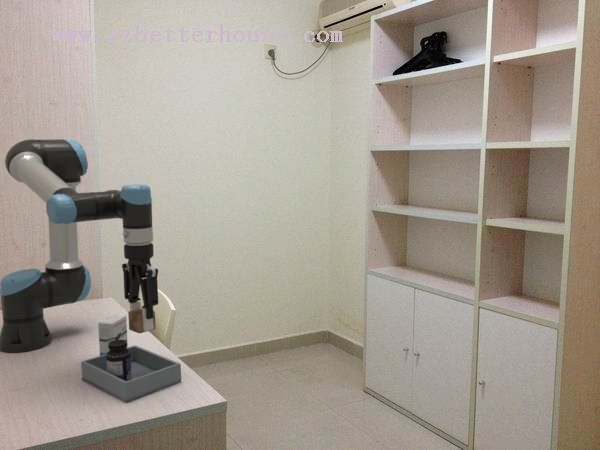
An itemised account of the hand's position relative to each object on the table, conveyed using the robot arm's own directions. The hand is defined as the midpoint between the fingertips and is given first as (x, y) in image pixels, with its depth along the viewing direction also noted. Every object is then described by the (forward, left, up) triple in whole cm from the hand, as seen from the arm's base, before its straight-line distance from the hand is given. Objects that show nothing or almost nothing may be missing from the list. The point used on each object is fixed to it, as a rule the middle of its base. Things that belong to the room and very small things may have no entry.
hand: (142, 327), depth 153 cm
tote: (0, -4, -14) cm, 14 cm away
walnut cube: (0, 0, 0) cm, 0 cm away
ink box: (-20, +3, -14) cm, 24 cm away
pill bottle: (0, -7, -13) cm, 15 cm away
